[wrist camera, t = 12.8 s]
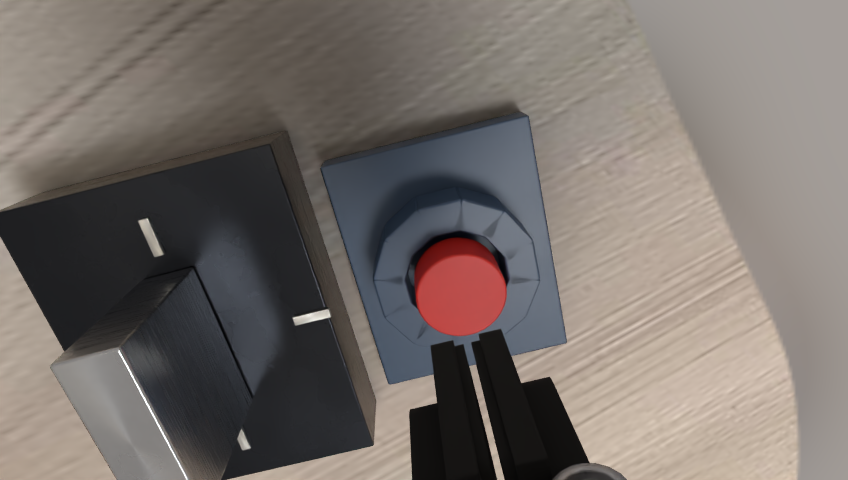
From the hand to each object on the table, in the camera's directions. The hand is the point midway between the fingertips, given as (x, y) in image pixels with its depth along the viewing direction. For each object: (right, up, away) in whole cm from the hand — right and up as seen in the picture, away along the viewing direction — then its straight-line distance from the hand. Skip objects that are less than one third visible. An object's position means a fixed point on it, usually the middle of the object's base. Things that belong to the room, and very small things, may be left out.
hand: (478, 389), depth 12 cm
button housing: (0, +3, +10) cm, 11 cm away
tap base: (-10, +1, +11) cm, 15 cm away
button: (0, +2, +8) cm, 8 cm away
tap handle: (-10, -1, +8) cm, 13 cm away
